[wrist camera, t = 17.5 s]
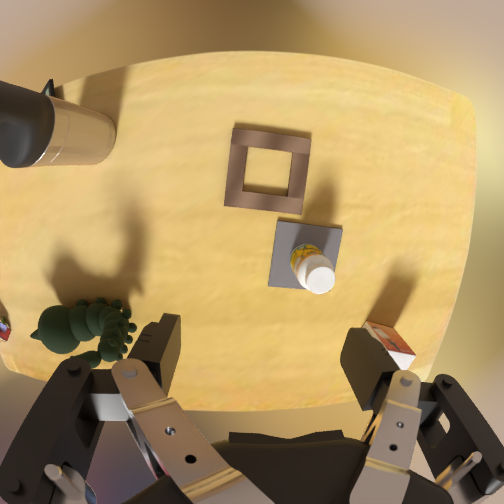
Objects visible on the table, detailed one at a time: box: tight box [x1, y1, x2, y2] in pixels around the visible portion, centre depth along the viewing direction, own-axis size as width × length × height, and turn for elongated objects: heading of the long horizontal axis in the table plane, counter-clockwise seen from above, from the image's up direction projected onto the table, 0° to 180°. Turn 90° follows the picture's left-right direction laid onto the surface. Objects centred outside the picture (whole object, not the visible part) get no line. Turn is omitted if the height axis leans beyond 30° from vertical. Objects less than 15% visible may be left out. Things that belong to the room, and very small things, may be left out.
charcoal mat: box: [268, 221, 343, 291], centre depth 45 cm, size 11×11×1 cm
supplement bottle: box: [290, 244, 335, 294], centre depth 40 cm, size 5×5×10 cm
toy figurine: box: [30, 297, 137, 369], centre depth 38 cm, size 9×19×25 cm
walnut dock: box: [224, 128, 311, 215], centre depth 40 cm, size 12×12×1 cm
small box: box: [362, 321, 416, 370], centre depth 45 cm, size 8×6×10 cm
